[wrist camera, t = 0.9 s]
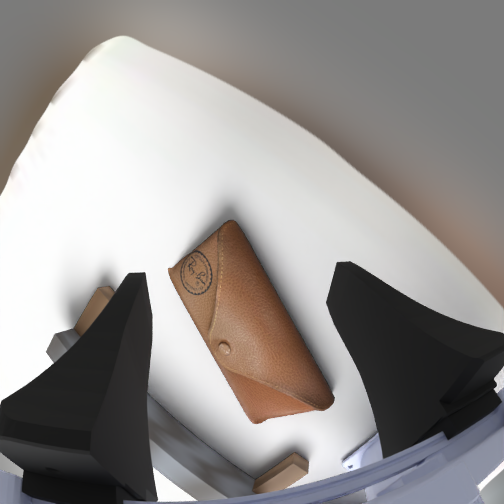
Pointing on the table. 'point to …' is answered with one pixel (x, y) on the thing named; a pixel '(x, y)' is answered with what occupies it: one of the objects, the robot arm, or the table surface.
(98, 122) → the table surface
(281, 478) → the dock
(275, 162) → the table surface
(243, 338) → the sunglasses case
